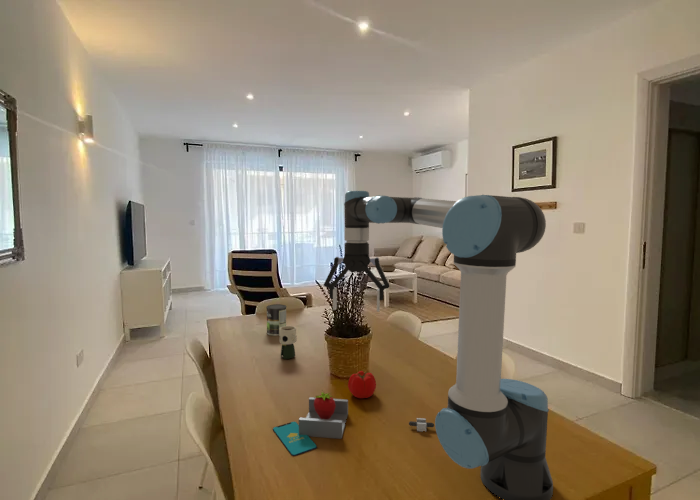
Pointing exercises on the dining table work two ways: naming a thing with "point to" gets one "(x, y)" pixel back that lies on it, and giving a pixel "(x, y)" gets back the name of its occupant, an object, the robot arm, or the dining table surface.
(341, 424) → the end holder
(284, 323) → the coffee can
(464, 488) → the dining table surface
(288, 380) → the dining table surface
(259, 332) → the dining table surface
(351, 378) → the tomato
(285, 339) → the character mug
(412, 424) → the block with rod
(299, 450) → the smartphone
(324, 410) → the strawberry
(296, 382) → the dining table surface
